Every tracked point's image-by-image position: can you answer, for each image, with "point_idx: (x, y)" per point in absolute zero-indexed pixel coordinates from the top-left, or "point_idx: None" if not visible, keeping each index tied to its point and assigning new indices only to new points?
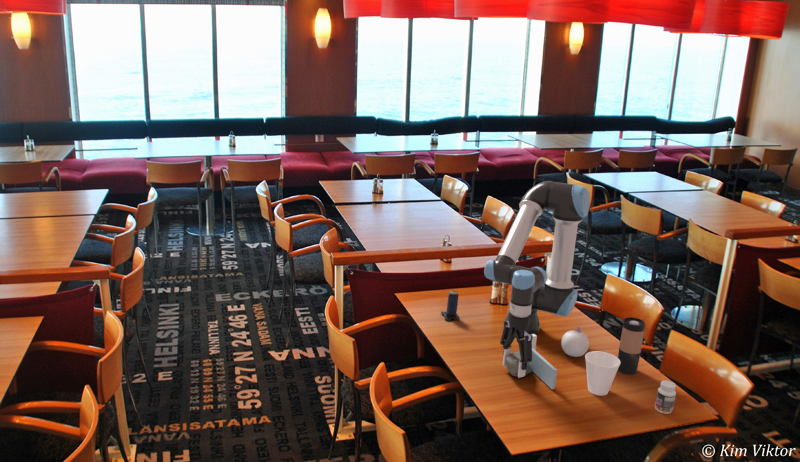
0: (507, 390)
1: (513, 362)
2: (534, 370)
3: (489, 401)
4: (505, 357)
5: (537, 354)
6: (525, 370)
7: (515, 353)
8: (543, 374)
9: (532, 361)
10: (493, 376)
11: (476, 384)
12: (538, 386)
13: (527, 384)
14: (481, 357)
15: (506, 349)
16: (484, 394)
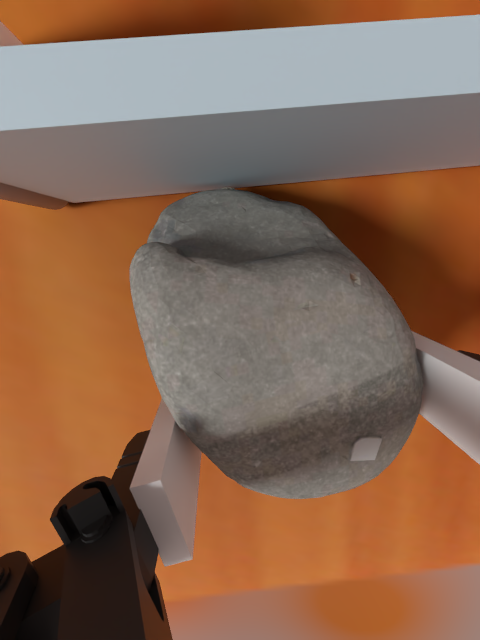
0: (412, 434)
1: (381, 468)
2: (287, 179)
3: (464, 532)
4: (196, 458)
5: (379, 78)
6: (414, 333)
7: (225, 409)
8: (454, 155)
9: (245, 165)
10: None
11: (316, 550)
12: (439, 235)
13: (394, 300)
14: (13, 464)
15: (176, 544)
16: (407, 538)
